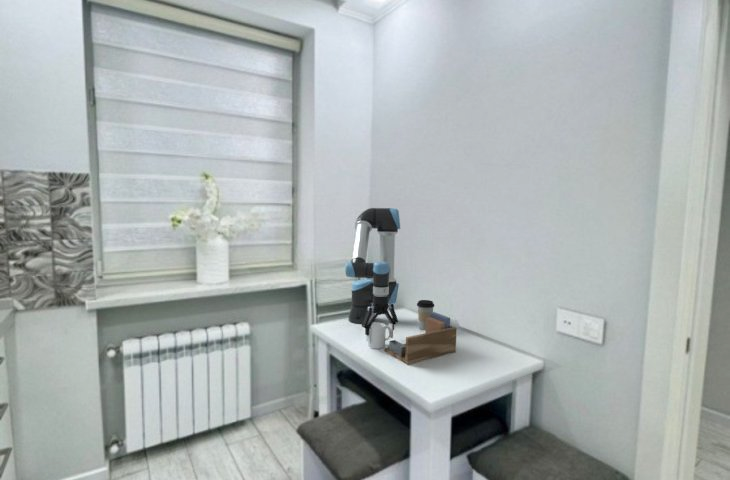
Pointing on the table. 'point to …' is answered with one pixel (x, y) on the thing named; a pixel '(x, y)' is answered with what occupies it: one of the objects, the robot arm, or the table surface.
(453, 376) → the table surface
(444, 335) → the wooden book rack
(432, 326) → the books
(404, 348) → the grey rectangular block
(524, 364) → the table surface
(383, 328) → the cup
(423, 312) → the coffee cup
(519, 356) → the table surface
